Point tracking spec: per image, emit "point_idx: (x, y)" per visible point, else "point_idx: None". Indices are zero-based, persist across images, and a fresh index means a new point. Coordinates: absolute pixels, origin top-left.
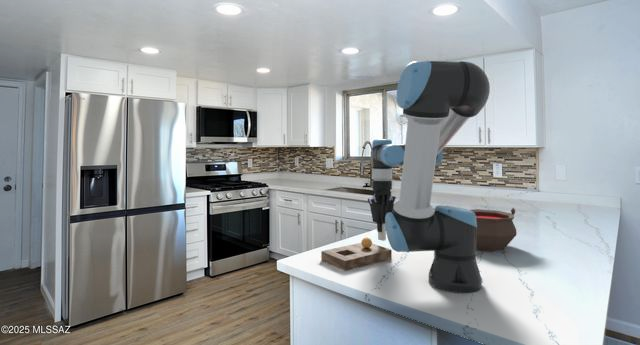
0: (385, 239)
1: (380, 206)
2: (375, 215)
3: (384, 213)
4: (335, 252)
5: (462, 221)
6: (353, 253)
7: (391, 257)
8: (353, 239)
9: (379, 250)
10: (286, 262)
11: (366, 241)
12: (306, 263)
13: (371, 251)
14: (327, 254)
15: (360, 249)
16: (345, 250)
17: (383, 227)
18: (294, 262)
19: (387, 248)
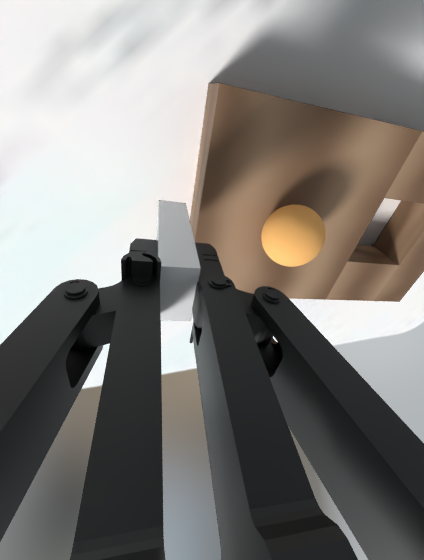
0: (161, 202)
1: (321, 524)
2: (335, 360)
3: (160, 378)
4: (400, 263)
5: None
6: (366, 218)
7: (210, 83)
8: None
9: (283, 139)
10: (421, 318)
11: (324, 227)
12: (415, 286)
13: (326, 162)
14: (421, 269)
15: None
16: (354, 260)
17: (189, 250)
18: (415, 308)
19: (213, 128)
